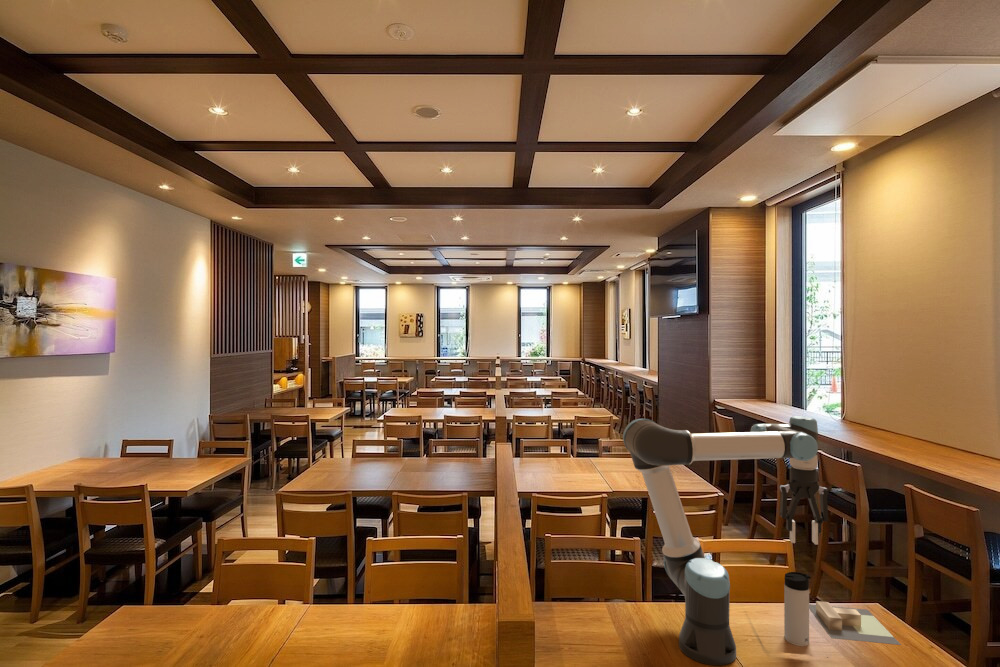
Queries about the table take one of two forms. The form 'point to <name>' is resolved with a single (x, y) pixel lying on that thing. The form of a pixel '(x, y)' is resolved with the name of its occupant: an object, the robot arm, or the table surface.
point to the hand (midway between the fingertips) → (803, 542)
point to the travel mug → (796, 608)
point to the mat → (860, 629)
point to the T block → (837, 616)
